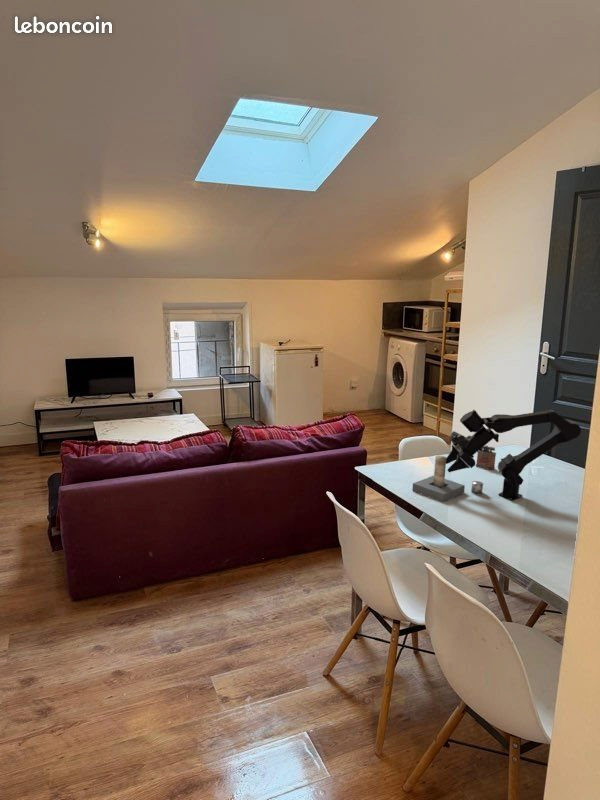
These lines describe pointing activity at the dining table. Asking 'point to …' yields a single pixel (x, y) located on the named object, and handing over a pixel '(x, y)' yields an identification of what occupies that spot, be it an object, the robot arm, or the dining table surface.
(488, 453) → the lighter
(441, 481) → the birch pin
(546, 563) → the dining table surface
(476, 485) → the steel stub
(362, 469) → the dining table surface
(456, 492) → the plate
